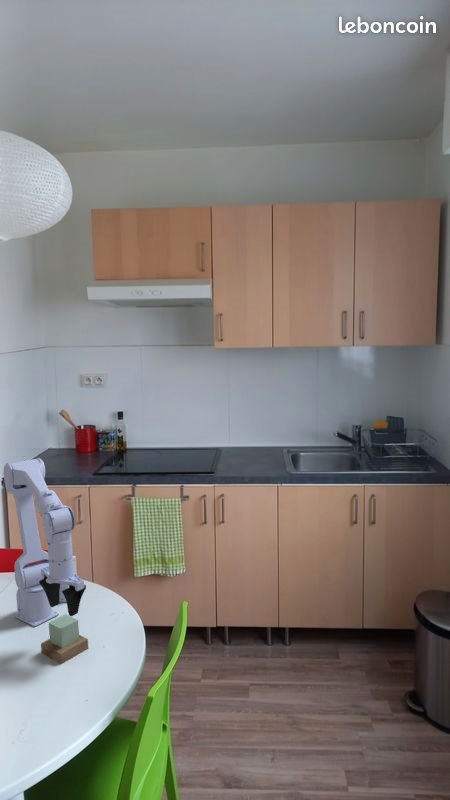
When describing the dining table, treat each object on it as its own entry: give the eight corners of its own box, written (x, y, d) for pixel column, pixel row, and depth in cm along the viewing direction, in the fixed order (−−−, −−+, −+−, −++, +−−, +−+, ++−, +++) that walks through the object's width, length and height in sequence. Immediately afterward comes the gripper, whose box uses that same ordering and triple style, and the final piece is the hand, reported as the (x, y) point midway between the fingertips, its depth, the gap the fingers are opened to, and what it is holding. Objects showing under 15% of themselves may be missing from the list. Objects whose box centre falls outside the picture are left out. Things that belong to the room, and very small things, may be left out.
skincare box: (69, 602, 165) (66, 563, 163) (55, 601, 166) (53, 562, 164) (78, 593, 171) (76, 555, 169) (65, 592, 171) (63, 554, 170)
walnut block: (41, 654, 139) (40, 643, 139) (68, 640, 146) (67, 629, 145) (61, 665, 134) (60, 654, 134) (88, 650, 141) (87, 639, 140)
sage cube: (50, 641, 140) (48, 622, 139) (66, 632, 143) (65, 614, 143) (62, 648, 136) (61, 628, 136) (79, 638, 140) (78, 620, 140)
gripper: (29, 555, 139) (32, 608, 141) (65, 570, 130) (68, 625, 132) (53, 546, 144) (56, 597, 146) (89, 560, 136) (92, 613, 137)
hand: (63, 609), depth 139 cm, fingers open, 7 cm apart
